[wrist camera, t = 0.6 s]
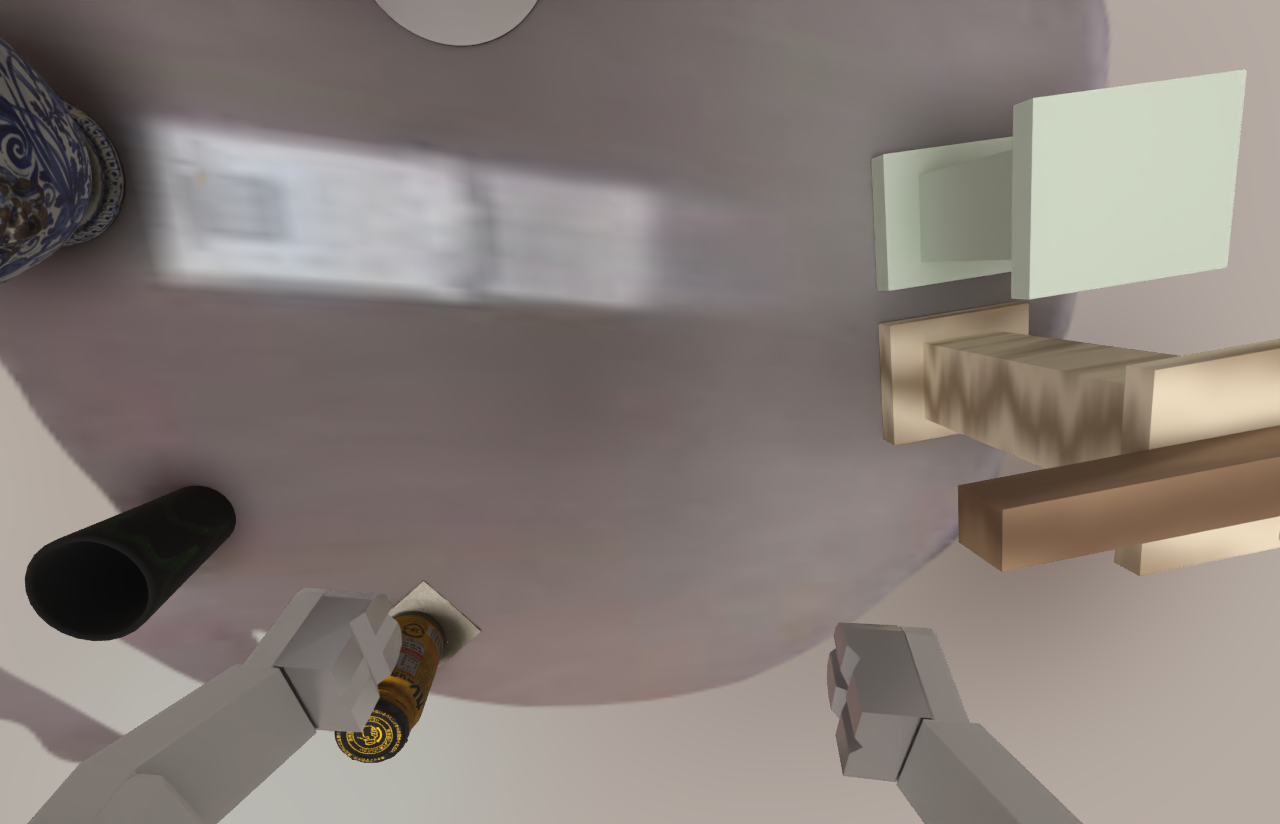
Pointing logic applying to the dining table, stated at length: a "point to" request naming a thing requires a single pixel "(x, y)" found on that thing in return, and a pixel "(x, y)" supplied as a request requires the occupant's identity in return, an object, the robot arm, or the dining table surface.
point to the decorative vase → (49, 170)
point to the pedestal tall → (1077, 404)
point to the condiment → (409, 673)
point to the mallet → (1122, 500)
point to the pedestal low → (1070, 192)
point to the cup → (126, 563)
